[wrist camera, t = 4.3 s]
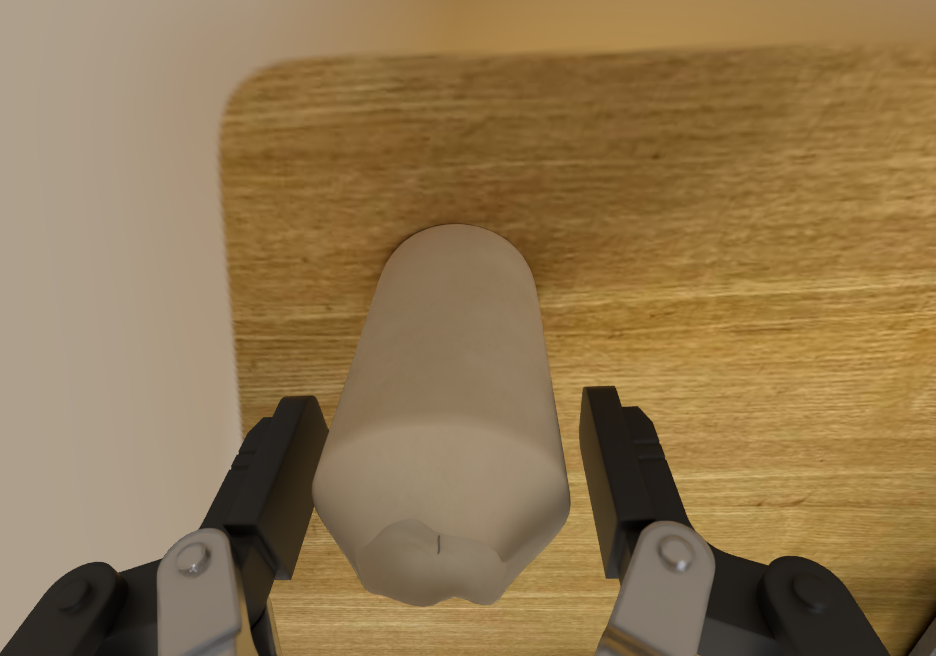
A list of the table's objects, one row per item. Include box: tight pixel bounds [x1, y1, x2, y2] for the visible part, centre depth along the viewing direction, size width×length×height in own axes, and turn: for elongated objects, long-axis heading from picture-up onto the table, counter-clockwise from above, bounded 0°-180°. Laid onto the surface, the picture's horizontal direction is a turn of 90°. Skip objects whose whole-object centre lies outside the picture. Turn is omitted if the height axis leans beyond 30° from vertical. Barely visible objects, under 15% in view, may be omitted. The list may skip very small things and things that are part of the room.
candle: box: [312, 224, 570, 607], centre depth 13 cm, size 6×6×10 cm
